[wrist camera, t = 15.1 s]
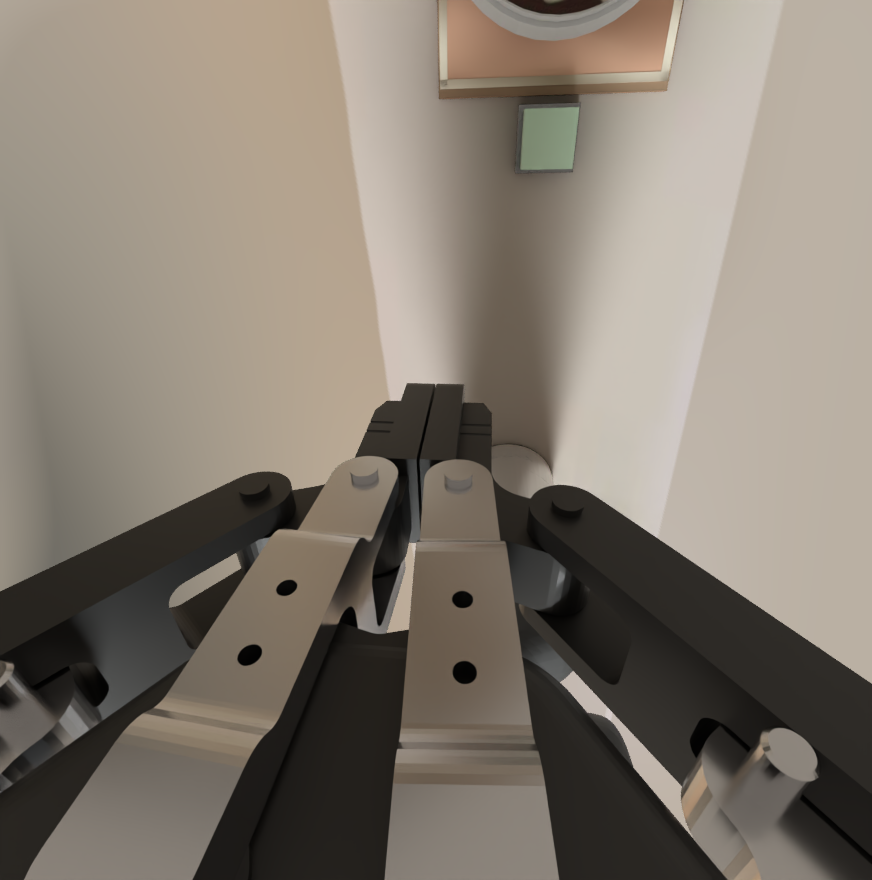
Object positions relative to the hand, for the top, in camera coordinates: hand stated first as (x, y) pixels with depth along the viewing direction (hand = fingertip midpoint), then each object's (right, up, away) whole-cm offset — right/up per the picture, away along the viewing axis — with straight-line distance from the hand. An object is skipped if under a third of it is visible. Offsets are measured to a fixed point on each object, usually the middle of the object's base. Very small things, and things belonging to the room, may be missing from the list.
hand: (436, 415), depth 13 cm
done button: (+8, +20, +20) cm, 29 cm away
